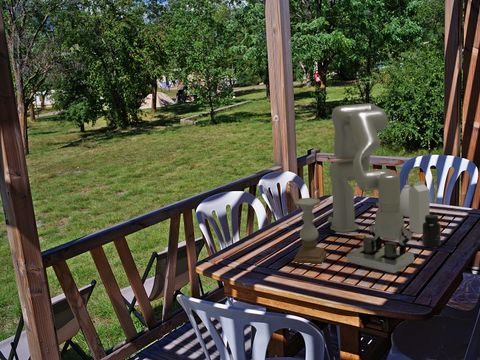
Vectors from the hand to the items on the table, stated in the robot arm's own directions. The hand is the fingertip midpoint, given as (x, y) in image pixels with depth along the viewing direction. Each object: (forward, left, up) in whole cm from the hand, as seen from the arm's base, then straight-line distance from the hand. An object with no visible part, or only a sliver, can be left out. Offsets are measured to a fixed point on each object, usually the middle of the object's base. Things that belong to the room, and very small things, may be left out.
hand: (390, 251), depth 193 cm
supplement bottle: (+3, +27, -5) cm, 28 cm away
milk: (-9, +40, -5) cm, 41 cm away
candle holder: (-27, -13, -5) cm, 31 cm away
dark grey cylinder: (0, 0, -5) cm, 5 cm away
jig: (-4, 0, -5) cm, 7 cm away
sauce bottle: (-24, +57, -5) cm, 62 cm away
